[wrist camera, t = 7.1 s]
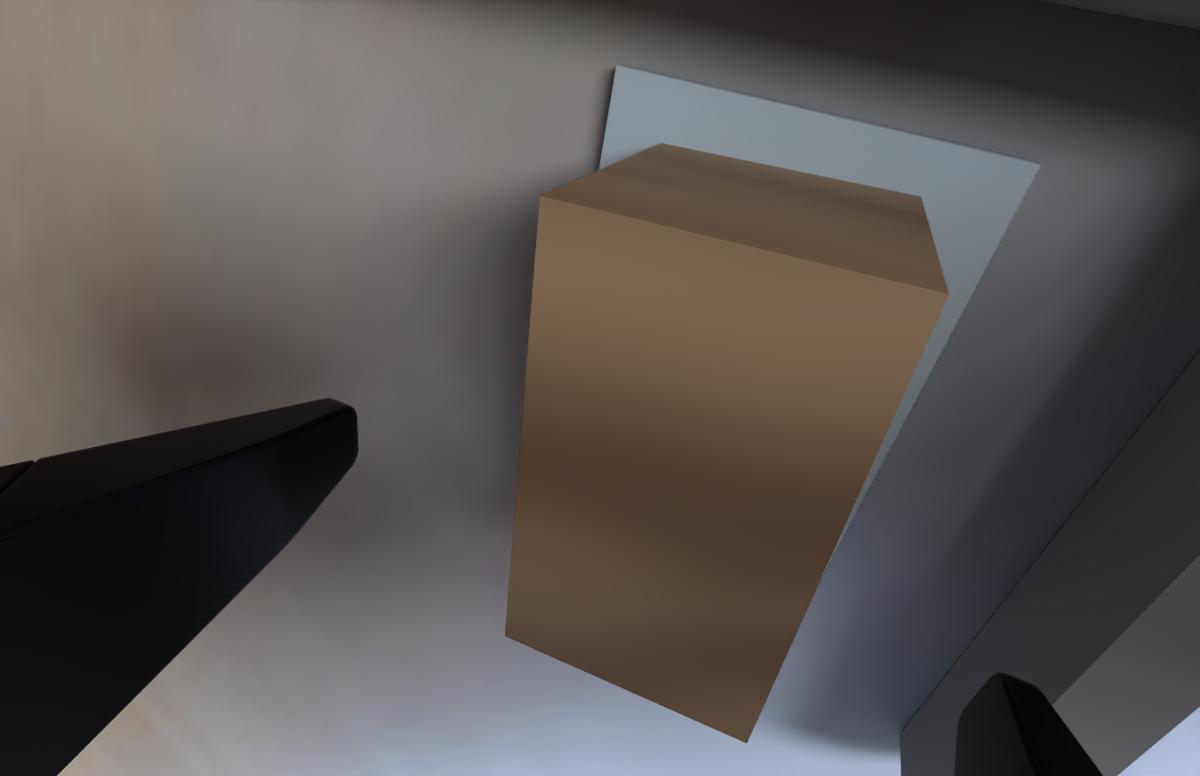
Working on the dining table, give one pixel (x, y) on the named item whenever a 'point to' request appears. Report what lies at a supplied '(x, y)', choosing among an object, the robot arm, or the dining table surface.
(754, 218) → the walnut block
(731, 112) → the mat
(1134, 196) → the dining table surface
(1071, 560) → the grey angle bracket
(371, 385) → the dining table surface
